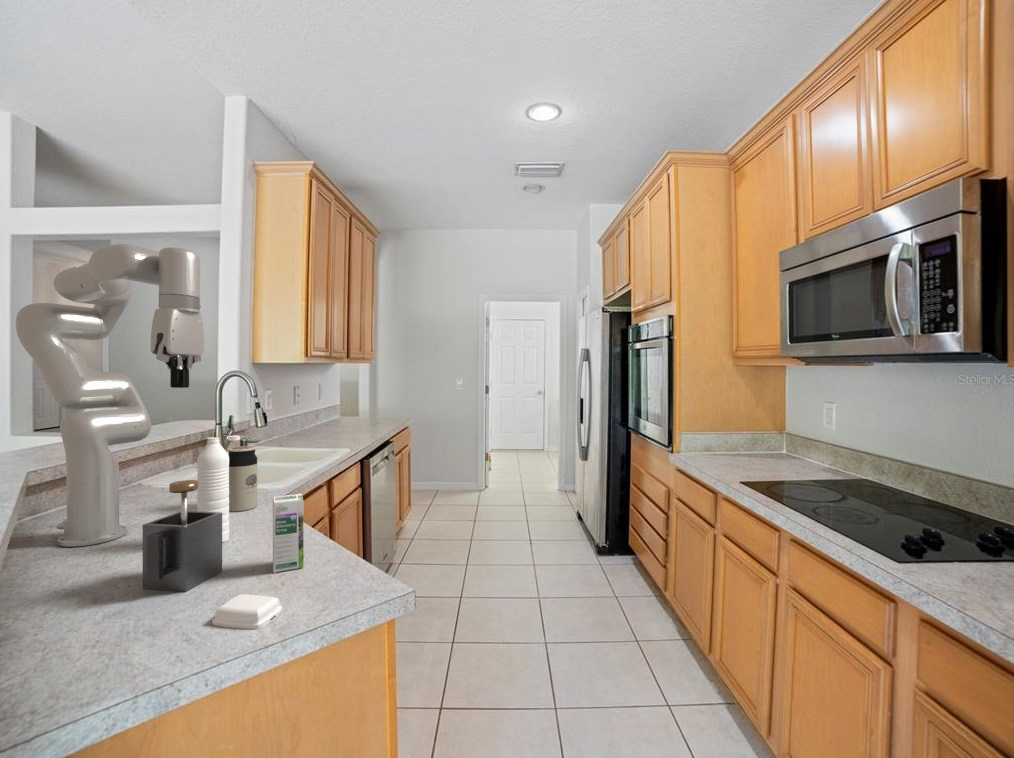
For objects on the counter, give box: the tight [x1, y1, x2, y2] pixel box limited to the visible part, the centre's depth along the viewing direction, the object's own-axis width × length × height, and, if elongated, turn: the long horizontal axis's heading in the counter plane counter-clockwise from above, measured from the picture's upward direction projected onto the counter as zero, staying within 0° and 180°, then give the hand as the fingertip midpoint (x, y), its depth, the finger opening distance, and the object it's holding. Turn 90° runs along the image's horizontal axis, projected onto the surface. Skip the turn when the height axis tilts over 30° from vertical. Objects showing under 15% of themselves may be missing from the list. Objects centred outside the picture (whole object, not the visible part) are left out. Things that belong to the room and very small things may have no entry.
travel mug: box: [227, 445, 258, 513], centre depth 138 cm, size 8×8×18 cm
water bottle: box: [196, 434, 241, 543], centre depth 111 cm, size 9×6×25 cm
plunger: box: [169, 479, 198, 526], centre depth 90 cm, size 6×6×16 cm
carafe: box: [142, 510, 223, 593], centre depth 89 cm, size 9×11×12 cm
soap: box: [211, 593, 283, 630], centre depth 77 cm, size 9×7×3 cm
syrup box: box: [272, 493, 305, 574], centre depth 97 cm, size 6×6×14 cm
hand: (179, 387), depth 103 cm, fingers closed
